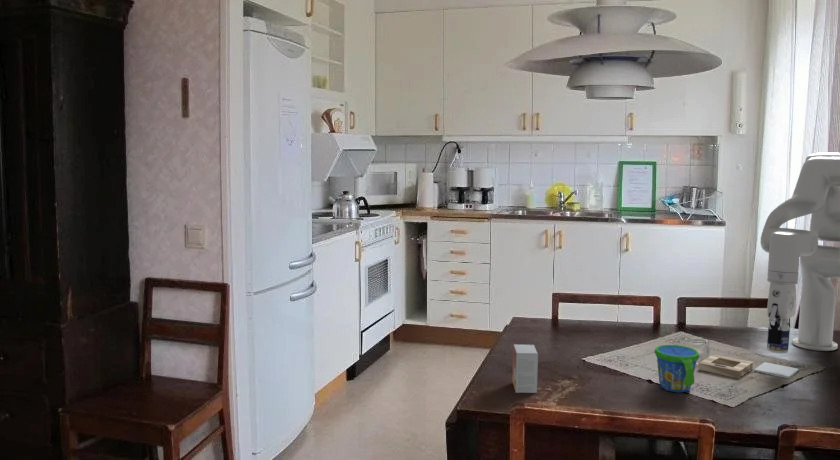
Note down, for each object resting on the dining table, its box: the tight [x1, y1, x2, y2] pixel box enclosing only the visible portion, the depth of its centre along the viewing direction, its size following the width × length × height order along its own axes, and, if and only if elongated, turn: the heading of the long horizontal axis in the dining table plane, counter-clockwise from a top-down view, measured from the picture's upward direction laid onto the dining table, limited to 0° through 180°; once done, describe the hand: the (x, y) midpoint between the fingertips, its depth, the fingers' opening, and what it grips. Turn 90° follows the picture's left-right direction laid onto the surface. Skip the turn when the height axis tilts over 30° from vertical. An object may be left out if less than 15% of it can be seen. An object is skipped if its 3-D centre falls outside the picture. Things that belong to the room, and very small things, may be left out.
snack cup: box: [654, 344, 700, 393], centre depth 189 cm, size 16×10×10 cm
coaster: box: [753, 361, 800, 379], centre depth 204 cm, size 9×9×1 cm
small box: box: [511, 343, 539, 394], centre depth 189 cm, size 8×6×10 cm
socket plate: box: [698, 354, 754, 379], centre depth 205 cm, size 11×11×2 cm
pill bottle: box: [766, 316, 791, 354], centre depth 203 cm, size 5×5×10 cm
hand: (778, 340), depth 203 cm, fingers closed on pill bottle, 5 cm apart
